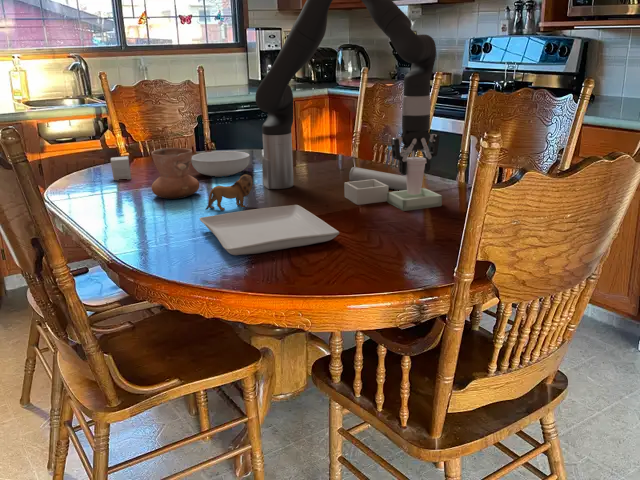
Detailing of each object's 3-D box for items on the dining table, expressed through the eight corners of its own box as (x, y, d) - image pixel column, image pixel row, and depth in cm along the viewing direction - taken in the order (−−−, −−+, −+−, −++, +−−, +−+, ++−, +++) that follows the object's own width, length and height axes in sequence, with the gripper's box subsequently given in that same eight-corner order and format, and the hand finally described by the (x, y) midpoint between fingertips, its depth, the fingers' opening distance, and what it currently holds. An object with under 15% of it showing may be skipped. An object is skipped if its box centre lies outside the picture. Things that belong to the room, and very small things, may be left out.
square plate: (227, 265, 127) (226, 248, 126) (199, 230, 151) (198, 215, 150) (341, 245, 137) (340, 229, 136) (298, 216, 161) (297, 202, 160)
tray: (403, 210, 162) (403, 200, 161) (387, 202, 171) (387, 192, 170) (441, 206, 165) (442, 195, 165) (424, 197, 174) (424, 187, 173)
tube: (422, 178, 182) (360, 167, 198) (413, 176, 178) (350, 165, 194) (419, 195, 182) (357, 183, 199) (409, 193, 178) (347, 181, 195)
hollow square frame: (357, 204, 169) (357, 189, 168) (344, 196, 178) (344, 182, 176) (388, 201, 172) (388, 185, 171) (374, 193, 181) (374, 179, 179)
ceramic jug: (209, 197, 181) (204, 151, 177) (162, 205, 174) (157, 157, 169) (187, 186, 196) (183, 144, 191) (144, 193, 188) (138, 149, 184)
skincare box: (131, 176, 214) (128, 155, 212) (131, 179, 209) (128, 158, 206) (113, 177, 213) (110, 157, 210) (113, 181, 207) (110, 160, 205)
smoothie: (400, 190, 170) (401, 141, 165) (422, 189, 170) (424, 141, 166) (405, 196, 164) (406, 145, 159) (428, 195, 164) (430, 144, 160)
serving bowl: (261, 175, 210) (260, 155, 208) (206, 183, 199) (204, 163, 197) (234, 166, 227) (233, 148, 225) (183, 173, 216) (181, 155, 214)
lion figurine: (250, 202, 175) (248, 172, 172) (257, 205, 171) (255, 175, 168) (202, 209, 169) (199, 178, 166) (208, 213, 164) (206, 182, 161)
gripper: (432, 109, 166) (430, 168, 171) (386, 112, 161) (385, 173, 166) (446, 112, 159) (444, 173, 164) (398, 115, 154) (397, 178, 160)
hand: (414, 173), depth 165 cm, fingers closed on smoothie, 6 cm apart
